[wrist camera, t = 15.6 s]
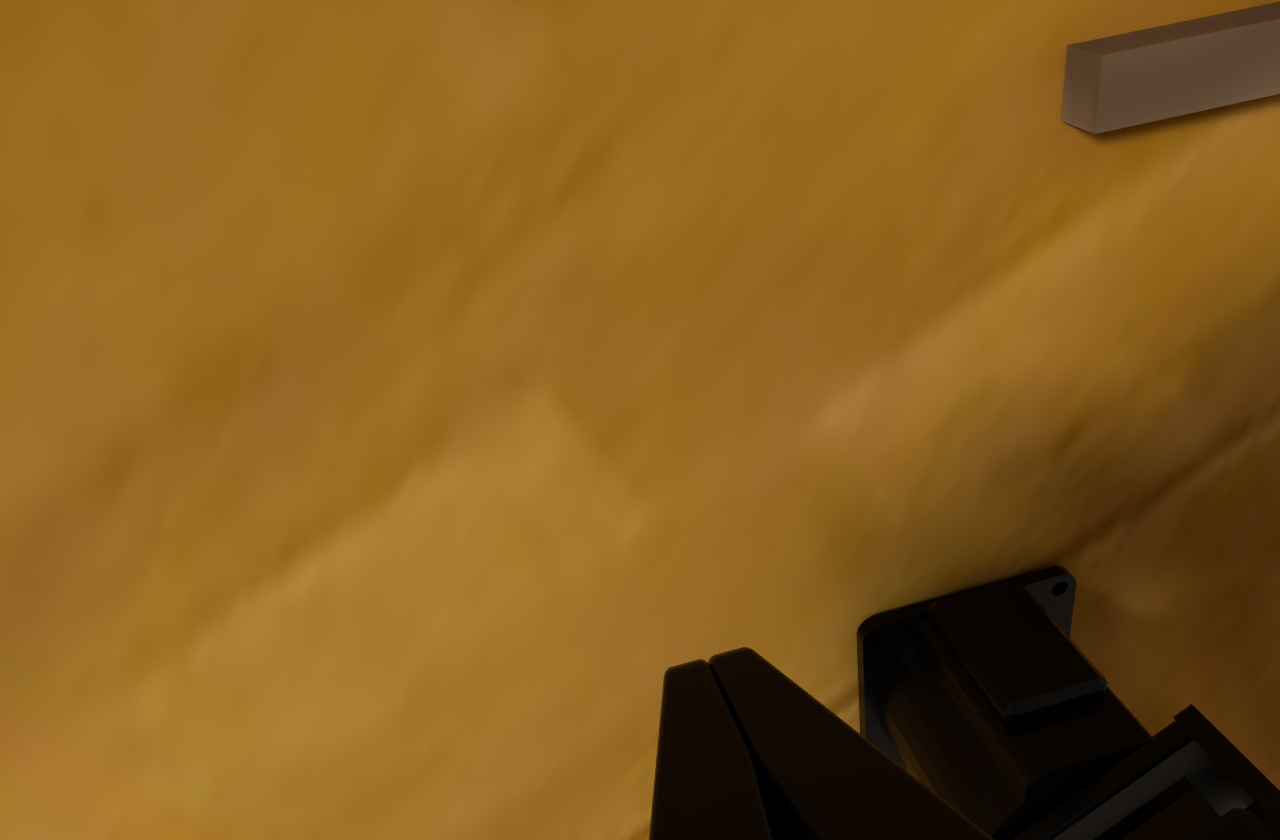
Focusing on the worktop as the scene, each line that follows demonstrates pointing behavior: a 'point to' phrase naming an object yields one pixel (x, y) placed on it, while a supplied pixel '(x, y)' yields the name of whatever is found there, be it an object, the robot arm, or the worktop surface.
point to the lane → (1173, 70)
